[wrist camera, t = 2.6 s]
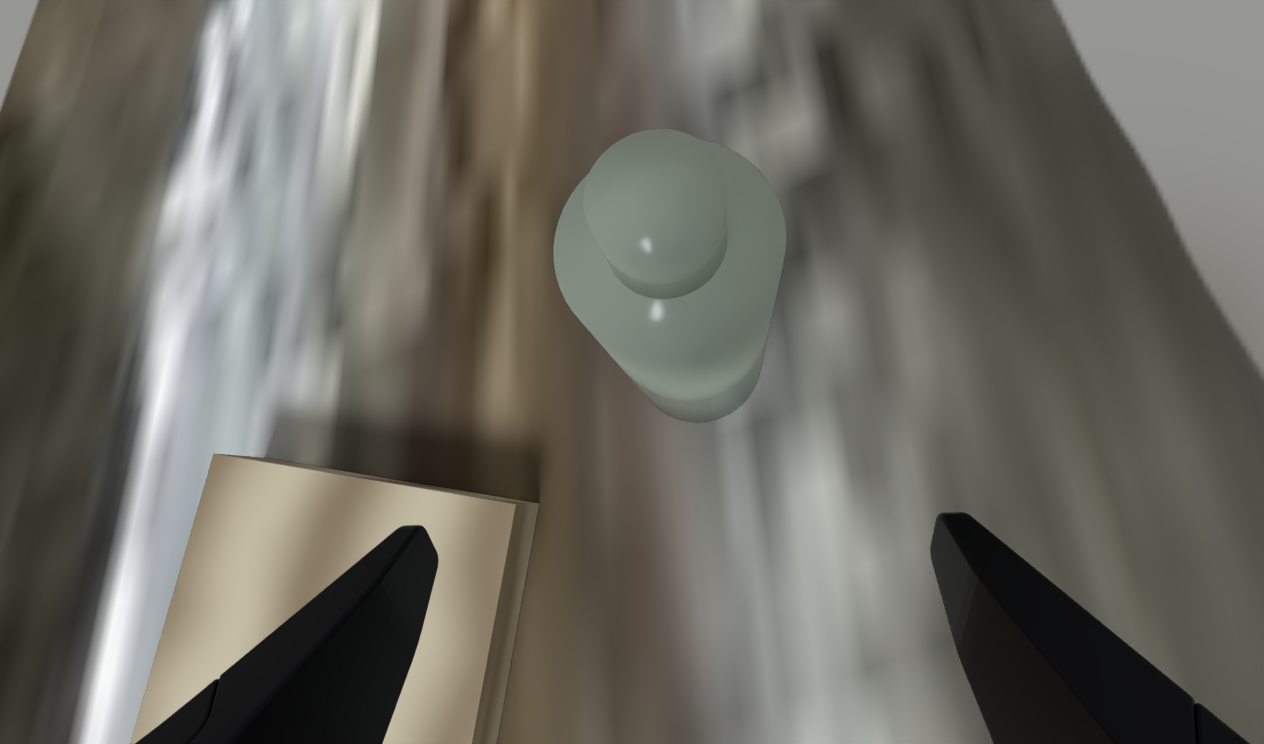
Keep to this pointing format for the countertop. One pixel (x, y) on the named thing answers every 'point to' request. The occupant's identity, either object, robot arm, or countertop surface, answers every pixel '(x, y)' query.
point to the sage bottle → (675, 268)
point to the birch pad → (321, 552)
